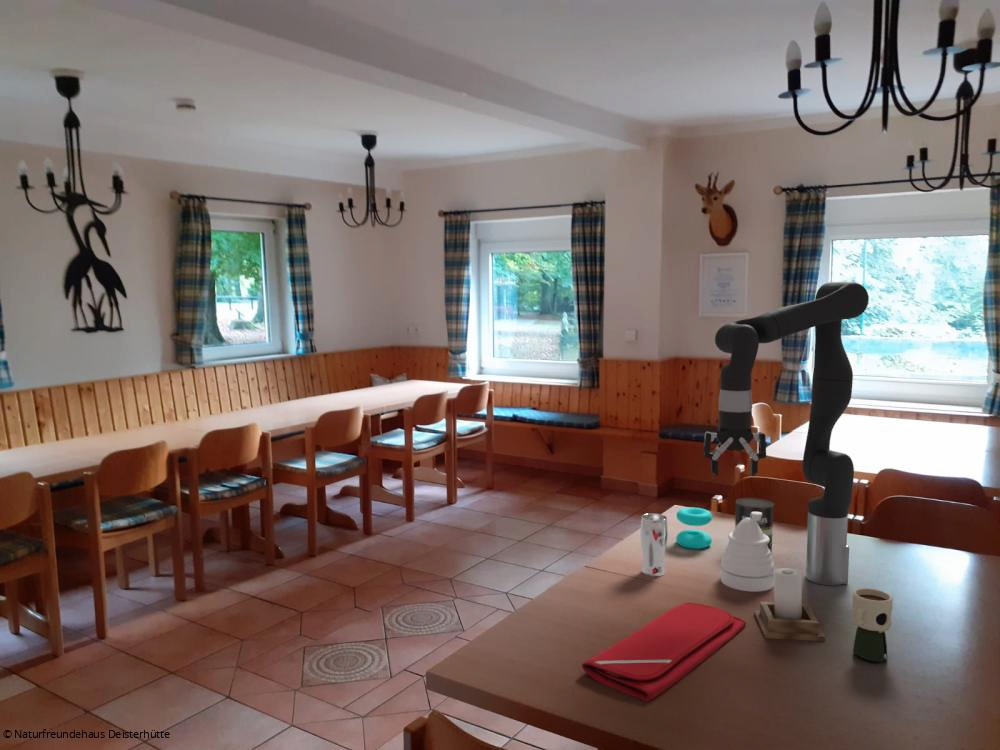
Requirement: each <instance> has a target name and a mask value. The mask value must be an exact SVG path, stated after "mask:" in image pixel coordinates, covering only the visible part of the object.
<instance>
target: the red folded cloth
mask: <svg viewBox="0 0 1000 750" xmlns="http://www.w3.org/2000/svg"><path fill="white" fill-rule="evenodd" d="M746 624H747V623H746V621H745V620H744V619H742V618H740V617H737V616H733V615H732V614H731V613H730V612H728V611H726V610H724V609H720V608H718V607H717V608H716V607H713V606H710V605H705V604H701V603H694V602H683V603H681V604H680V605H677V606H675V607H672V608H671V609H669V610H668V611H666V612H664V613H663V614H661V615H660V616H658V617H656V618H654V620H652V621H650V622H648V623H646V624H645V625H644V626H642V627H640V628H639V629H637V630H636V631H634V632H632V633H631V634H629V635H628V636H626V637H625V638H623V639H621V640H619V641H618V642H615V644H613V645H612V646H610V647H608V648H606V649H605V650H603V651H601V652H599V653H598V654H596V655H595V656H592V657H591V658H590V659H588V660H586V661H585V662H583V663H582V665H581V666H582V669H583V671H584V672H585V673H586V674H587V675H588V676H589V677H591V678H592V679H593V680H595V681H597V683H600V684H602V685H604V686H605V685H606V686H607V687H610V688H613V689H614V690H615V689H616V690H618V691H620V692H623V693H625V694H628V695H630V696H633V697H635V698H638V699H641V700H643V701H645V702H650V701H652V700H653V699H656V697H657V696H659V695H660V694H661V693H663V692H665V691H666V690H668V688H670V687H672V686H673V685H674V684H676V683H677V682H678V681H680V680H681V679H682V678H683V677H685V676H686V675H687V674H689V673H690V672H691V671H693V670H694V669H695V668H696V667H697V666H698V665H700V664H701V663H702V662H704V661H705V660H707V659H708V658H709V657H710V656H712V655H713V654H714V653H715V652H717V651H719V649H720V648H722V647H723V645H725V644H726V643H728V642H729V641H730V640H732V639H733V638H734V637H735V636H736V635H738V633H739V632H740V631H741V630H742V629H744V628H745V627H746Z"/></svg>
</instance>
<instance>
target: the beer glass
mask: <svg viewBox="0 0 1000 750" xmlns="http://www.w3.org/2000/svg"><path fill="white" fill-rule="evenodd" d="M668 532H669V530H668V517H667V515H665V514H660V513H645V514H642V515H641V520H640V542H641V543H640V544H641V549H642V554H643V557H642V558H643V561H642V562H643V563H642V568H641V573H642V574H643V573H644V575H645V574H646V576H648V575H649V576H648V577H655V576H657V577H662V575H663V576H664V575H666V568H665V553H666V549H667V544H668V536H669V535H668V534H669V533H668Z"/></svg>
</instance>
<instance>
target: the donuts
mask: <svg viewBox="0 0 1000 750" xmlns="http://www.w3.org/2000/svg"><path fill="white" fill-rule="evenodd" d="M712 518H713V516H712V513H711V512H710V511H709V510H707V509H705V508H701V507H692V506H691V507H690V506H689V507H683V508H680V509H678V511H677V512H676V519H677V520H678V521H679V522H680V523H681V524H684V525H686V526H690V527H691V526H693V527H700V526H701V527H702V526H705V525H708V524H709V523H711V522H712ZM675 540H676V542H677V544H678V545H679V546H681V547H684V548H687V549H691V550H692V549H693V550H694V549H695V550H696V549H698V550H701V549H705V548H708V547H710V546H711V545H712V537H711V536H710V534H708V533H707V532H705V531H703V530H699V529H685V530H682V531H680V532H678V533H677V534H676V537H675Z"/></svg>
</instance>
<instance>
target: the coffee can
mask: <svg viewBox="0 0 1000 750" xmlns="http://www.w3.org/2000/svg"><path fill="white" fill-rule="evenodd" d="M774 507H775V504H774V502H772V501H771V500H767V499H763V498H757V497H741V498H738V499H736V500H735V520H734V522H735V523H734V529H735V528H736V527H737V525H738V524H739V523H740V521H742V520H743V519H745V518H752V515H751V512H761V513H762V517H761V519H760V520H758V521H756V523H757V524H758V525H759V527H760V529H761V531H762V533H763V534H765V535H767V536H768V537H769V539H770V541H769V543H767V546H768V549H769V550H770V552H771V553H770V555H771V556H772V553H773V531H774V529H773V524H774V523H773V522H774Z"/></svg>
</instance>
